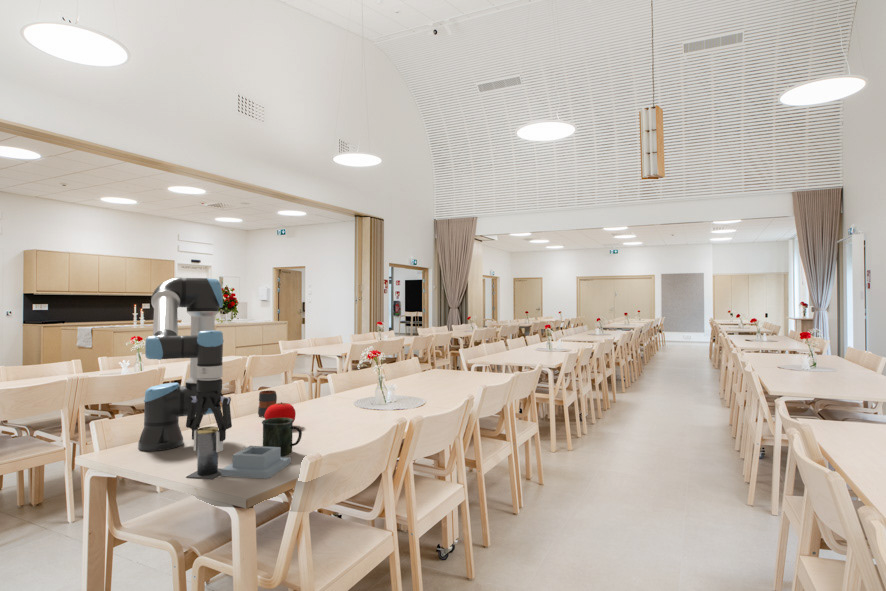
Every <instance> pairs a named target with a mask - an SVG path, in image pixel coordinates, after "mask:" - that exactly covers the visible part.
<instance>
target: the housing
mask: <svg viewBox="0 0 886 591" xmlns="http://www.w3.org/2000/svg"><path fill="white" fill-rule="evenodd" d="M280 456H281V447H266V446H263V445H261V446H260V445H249V446H247V447H245V448H243V449H242V450H240V451H237V452H236V453H234V454H232V462H231V463H230V464H228V465H226V466H224V467H222V468H220V469H221V475H220V476H221V477H234V478H235V477H236V478H248V479H249V478H250V479H251V478H252V479H265V480H266V479H267V480H268V479H270V478H271V477H273V476H274V475H276V474H277V473H279V472H280V471H281V470H283V469H284V468H286V467H287V466H289V465H290V464H291V462H292V461H291V459H292V458H291V457H289V456H281V457H280Z"/></svg>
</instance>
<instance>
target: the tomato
mask: <svg viewBox="0 0 886 591" xmlns="http://www.w3.org/2000/svg"><path fill="white" fill-rule="evenodd" d="M263 418H264V420H266V419H270V418H291V419H293V420H294V421H295V420H296V409H295V408H294V405H292V404H290V403H286V402H282V401H281V402H278V403H277V402H276V404H273V405H271V406H269V407H268V409H267V410H266V412H265V415H264V417H263Z"/></svg>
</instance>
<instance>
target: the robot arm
mask: <svg viewBox="0 0 886 591" xmlns="http://www.w3.org/2000/svg"><path fill="white" fill-rule="evenodd" d="M222 290H223V289H222V285H221V282H220V281H219V280H218V279H216V278H208V277H206V278H205V277H203V278H202V277H174V278H173V277H172V278H170V279H167V280H165V281H163V282H162V283H160V284H159V285H158V286H156V288H155V290H154V291H153V292H152V294H151V298H150V299H151V300H150V302H151V306H152V308H153V322H152V326H153V327H152V335H151V336H147V337H146V338H145V347H144V348H145V349H144V350H145V352H144V353H145V354H144V355H145V358H146V359H147V360H157V361H158V360H159V361H160V360H171V359H172V360H173V359H176V360H177V359H189V361H190V362H189V363H190V364H189V377H188V378H187V379H186V380H185V385H182V386H181V385H180V383H179V382H168V383H161V384H157V385H153V386H149V387H148V388H147V389H146V390H145V392H144V400H143V403H144V409H143V410H144V413H143V421H144V422H143V429H142V432H141V434H140V436H139V440H138V442H137V443H138V445H137V446H138V447H137V448H138V450H139V451H145V452H146V451H147V452H149V451H150V452H154V451H155V452H156V451H165V450H171V449H174V448H178V447H181V446H182V445H183V444H184V436H183V433H182V430H181V426H180V424H179V423H180V422H179V418H180V417H186V423H185V428H186V429H190V430H191V440H192V441H193V452H197V436H198V429H199V428H201V422H202V420H203V418H204V416H206V415H211V414H213V417H214V419H215V422H216V427H218V431H217V432H216V452H218V453H219V452H221V451H223V450H224V441H225V440H226V433H227V431H226V430H229V429H231V428H232V426H233V425H232V414H231V412H232V411H231V401H232V398H231V397H230V396H228V397H227V396H223V393H222V391H223V379H222V377H223V369H224V368H223V365H224V364H223V354H224V353H223V351H224V349H223V347H224V341H225V340H224V334H223V333H224V332H222V331H221V330H215V316H216V315H217V314H219V312H220V311H219V310H220V309H221V308H223V307H224V299H223V298H224V297H223V291H222ZM178 308H186V313H187V314H188V315H190V335H179V327H178V326H179V325H178V319H179V318H178ZM221 406H222V407H221ZM221 409H222V410H221Z"/></svg>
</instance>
